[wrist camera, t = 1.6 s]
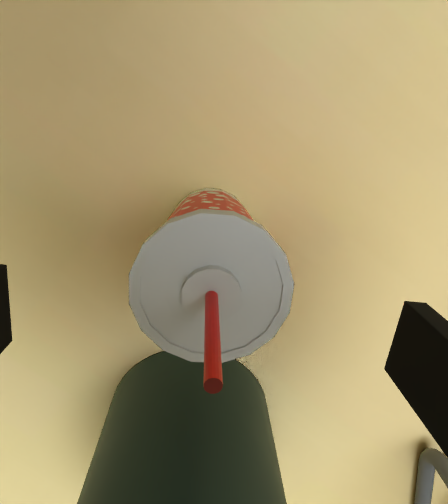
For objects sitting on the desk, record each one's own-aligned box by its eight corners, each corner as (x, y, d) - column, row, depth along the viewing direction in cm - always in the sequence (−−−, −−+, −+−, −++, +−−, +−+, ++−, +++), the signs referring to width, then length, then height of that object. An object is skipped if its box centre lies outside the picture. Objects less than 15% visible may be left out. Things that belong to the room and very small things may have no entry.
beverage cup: (265, 267, 23) (339, 464, 10) (167, 279, 23) (114, 491, 10) (257, 168, 21) (337, 253, 8) (149, 181, 21) (54, 286, 8)
